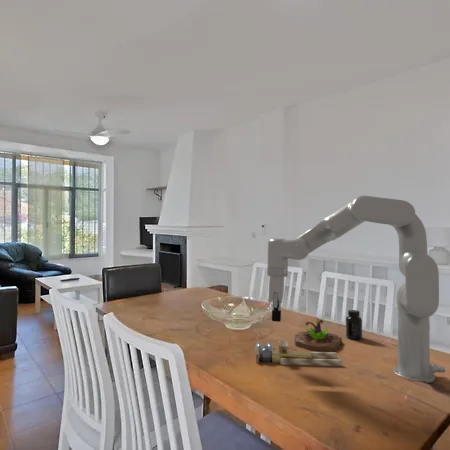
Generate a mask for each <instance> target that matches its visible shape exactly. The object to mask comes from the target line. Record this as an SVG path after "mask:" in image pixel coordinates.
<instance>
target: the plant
mask: <svg viewBox="0 0 450 450" xmlns="http://www.w3.org/2000/svg"><path fill="white" fill-rule="evenodd" d="M319 319H320V318H317V319H316V320H315V323H316V325H315V324H314V323H313V322H309V321H306V322H305V324H304V325H305V326H309V325H312V327H313V328H312V327H309V329H308V328H305V330H306V331H299V333H298V334H295V335H294V345H295V347H299V348H303V349H304V350H309V351H313V352H337V350H338V349H339V348H340V346H343V340H342V337H340V336H339V335H337V334H335V333H328V332H329V331H330V329H329V328H326V329H324V330H323V329H322V327H321V324H324V320H322V319H320V320H319Z"/></svg>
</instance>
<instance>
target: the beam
mask: <svg viewBox="0 0 450 450" xmlns="http://www.w3.org/2000/svg"><path fill="white" fill-rule="evenodd" d="M289 349H290V346H289V343H288V340H287V339H278V350H287V351H290V350H289ZM310 353H311V359H306V358H280V365H290V366H291V365H292V366H293V365H294V366H327V367H328V366H329V367H330V366H331V367H342V366H343V361H342V359H341V358H340V359H338V353H337V351H334V352H331V351H310ZM255 363H257V364H259V363H260V354H259V349H256V354H255Z"/></svg>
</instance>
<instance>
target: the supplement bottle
mask: <svg viewBox="0 0 450 450" xmlns="http://www.w3.org/2000/svg"><path fill="white" fill-rule="evenodd" d="M347 315H348V316H347V317H345V336H346V338H347V339H349V340H354V341H355V340H356V341H359V340H362V339H363V320H362V319H363V318H362V317H361V316H360V311H359V310H357V309H349V310H348V311H347Z"/></svg>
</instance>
